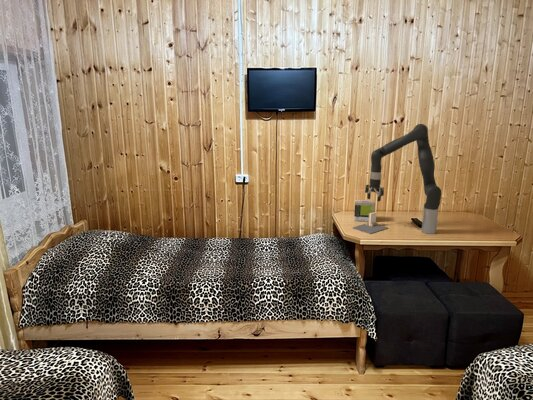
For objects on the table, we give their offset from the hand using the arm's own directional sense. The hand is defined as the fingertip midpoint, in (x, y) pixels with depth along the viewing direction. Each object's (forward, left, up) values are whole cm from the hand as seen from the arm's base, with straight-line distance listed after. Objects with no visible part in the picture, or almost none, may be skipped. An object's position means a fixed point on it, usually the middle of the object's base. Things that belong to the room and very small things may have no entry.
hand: (373, 200), depth 273 cm
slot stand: (-1, -1, -19) cm, 19 cm away
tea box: (-8, -14, -20) cm, 26 cm away
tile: (-1, -1, -19) cm, 19 cm away
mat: (+5, +2, -20) cm, 20 cm away
